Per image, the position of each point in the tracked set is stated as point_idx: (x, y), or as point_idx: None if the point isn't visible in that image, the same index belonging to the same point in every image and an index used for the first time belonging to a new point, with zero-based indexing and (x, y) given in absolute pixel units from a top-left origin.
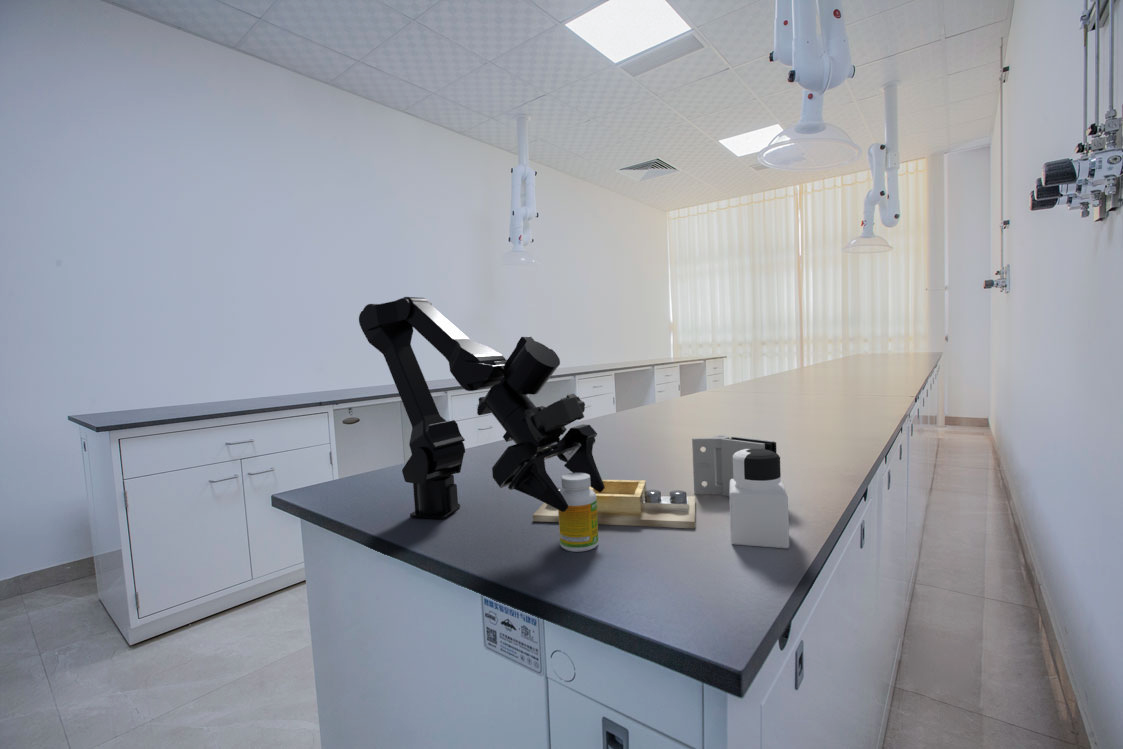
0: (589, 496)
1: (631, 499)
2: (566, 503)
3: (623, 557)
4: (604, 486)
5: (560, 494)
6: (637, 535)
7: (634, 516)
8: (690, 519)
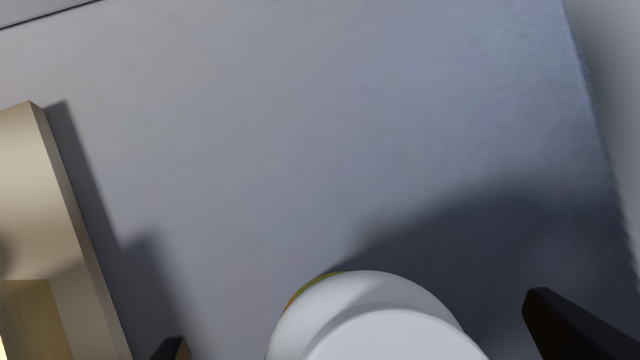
0: (377, 280)
1: (7, 316)
2: (546, 298)
3: (335, 171)
4: (163, 341)
5: (600, 336)
6: (177, 224)
7: (62, 297)
8: (11, 119)
